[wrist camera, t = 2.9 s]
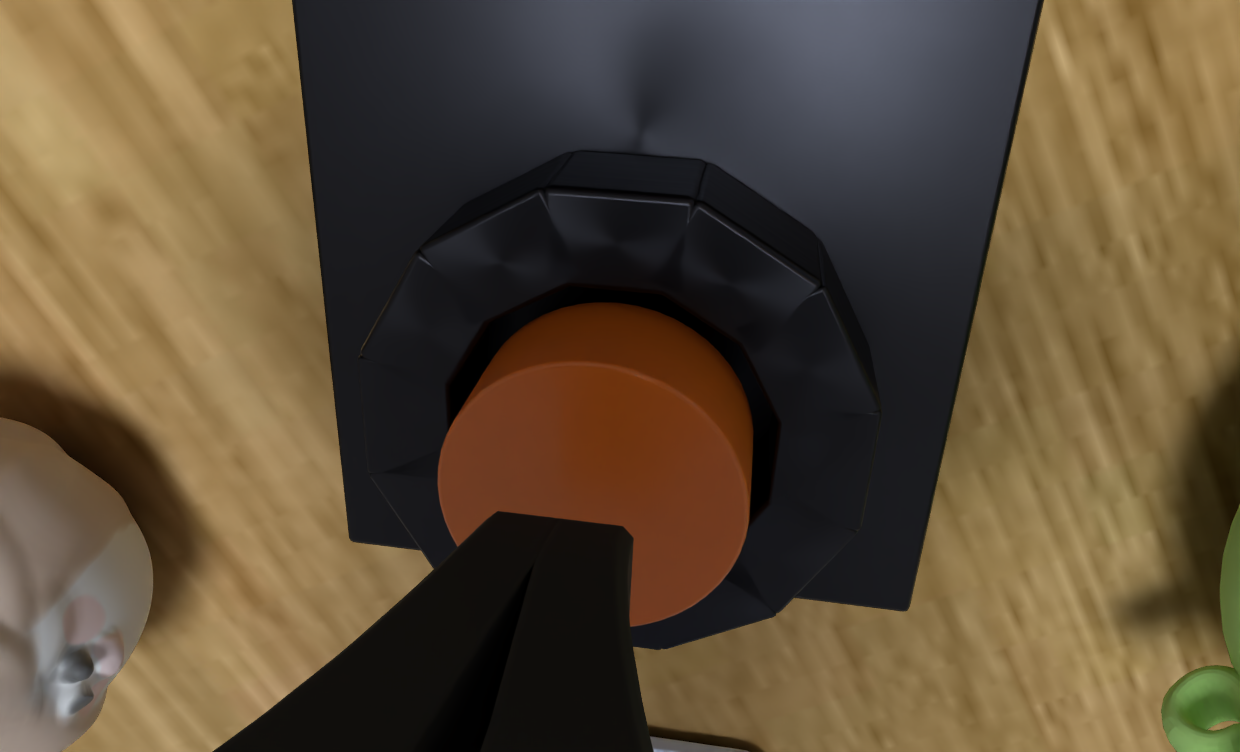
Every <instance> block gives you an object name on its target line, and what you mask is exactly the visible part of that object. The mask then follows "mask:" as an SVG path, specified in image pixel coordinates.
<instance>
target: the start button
mask: <svg viewBox="0 0 1240 752" xmlns="http://www.w3.org/2000/svg"><path fill="white" fill-rule="evenodd" d="M753 435H754V430H753V421H752V414H751V410H750V406H749V402H748V398H747V396H746V394H745V391H744V389H743V387H742V384H741V382H740V380H739V379H738V377H737V375H736V374H735V372H734V370H733V369H732V367H731V366H730V365H729V363H728V362H727V361H726V360H725V358H724V357H723V356H722V355H721V353H720V352H719V351H718V350H717V349H716V348H715V347H714V346H713V345H711V344H710V343H709V342H708V341H707V340H706V339H705V338H704V337H702V336H701V335H700V334H698V333H697V332H696V331H694V330H693V329H691V328H690V327H688V326H686V325H685V324H683V323H681V322H679V321H678V320H676V319H674V318H672V317H669V316H667V315H665V314H662V313H660V312H657V311H655V310H651V309H647V308H644V307H640V306H636V305H630V304H623V303H613V302H594V303H583V304H577V305H572V306H568V307H563V308H560V309H557V310H554V311H552V312H549V313H546V314H544V315H542V316H540V317H538V318H536V319H534V320H532V321H531V322H529V323H527V324H526V325H525V326H523V327H522V328H521V329H519V330H518V331H516V332H515V333H514V334H513V335H512V336H511V337H510V338H509V339H508V340H507V341H506V342H505V343H504V344H503V345H502V346H501V348H500V349H499V350H498V352H497V353H496V354H495V356H494V357H493V358H492V360H491V362H490V363H489V365H488V366H487V368H486V370H485V371H484V373H483V374H482V376H481V378H480V379H479V381H478V382H477V384H476V386H475V387H474V389H473V390H472V392H471V394H470V395H469V397H468V398H467V400H466V402H465V403H464V405H463V406H462V408H461V410H460V411H459V413H458V414H457V416H456V418H455V419H454V421H453V423H452V425H451V427H450V429H449V431H448V432H447V434H446V437H445V440H444V443H443V446H442V449H441V453H440V458H439V464H438V492H439V500H440V505H441V509H442V512H443V516H444V520H445V522H446V525H447V527H448V529H449V532H450V534H451V536H452V538H453V540H454V541H455V543H456V545H457V546H459V545H460V544H461V543H462V542H463V541H464V540H465V539H466V538H467V537H469V536H470V535H471V534H472V533H473V532H474V531H475V530H476V529H477V528H478V527H479V526H480V525H481V524H482V523H483V522H484V521H485V520H486V519H488V518H489V517H490V516H492V515H493V514H494V513H496V512H497V511H503V512H511V513H519V514H528V515H536V516H544V517H552V518H561V519H569V520H577V521H586V522H594V523H602V524H611V525H619V526H623V527H624V528H625V529H626V530H627V531H628V532H629V533H630V534H631V535H632V537H633V538H634V542H633V560H632V578H631V596H630V614H629V617H630V627H632V626H640V625H645V624H649V623H653V622H657V621H661V620H663V619H666V618H669V617H671V616H674V615H677V614H678V613H680V612H682V611H684V610H686V609H688V608H690V607H692V606H693V605H695V604H696V603H698V602H699V601H700V600H702V599H703V598H705V597H706V596H707V595H708V594H709V593H710V592H711V591H713V590H714V589H715V588H716V587H717V586H718V585H719V584H720V583H721V582H722V580H723V579H724V578H725V577H726V575H727V574H728V573H729V571H730V570H731V569H732V567H733V565H734V564H735V562H736V560H737V558H738V556H739V555H740V552H741V550H742V547H743V544H744V542H745V539H746V535H747V530H748V525H749V515H750V496H751V477H752V457H753Z"/></svg>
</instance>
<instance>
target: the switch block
mask: <svg viewBox="0 0 1240 752" xmlns="http://www.w3.org/2000/svg"><path fill="white" fill-rule="evenodd" d="M1043 3H1044V0H292V4H293V13H294V23H295V32H296V42H297V51H298V60H299V70H300V79H301V89H302V98H303V107H304V117H305V126H306V136H307V145H308V155H309V164H310V173H311V183H312V192H313V202H314V211H315V220H316V230H317V239H318V249H319V258H320V268H321V277H322V286H323V296H324V305H325V315H326V324H327V333H328V343H329V352H330V362H331V371H332V381H333V390H334V399H335V409H336V418H337V428H338V437H339V446H340V456H341V465H342V475H343V484H344V494H345V503H346V512H347V522H348V531H349V539H350V540H351V541H353V542H358V543H366V544H374V545H381V546H389V547H397V548H405V549H413V550H421V551H422V553H423V554H424V555H425V557H426V558H427V560H428V561H429V563H430V564H431V566H432V567H433V568H434V569H435V568H436V567H437V566H438V565H439V564H440V563H441V562H442V561H444V560H445V559H446V558H447V557H448V556H449V555H450V554H451V553H452V552H453V551H454V550H455V549H456V548H457V547H458V546H457V545H456V543H455V541H454V540H453V538H452V536H451V534H450V532H449V529H448V527H447V525H446V522H445V520H444V516H443V512H442V509H441V505H440V500H439V492H438V464H439V458H440V453H441V449H442V446H443V443H444V440H445V437H446V434H447V432H448V431H449V429H450V427H451V425H452V423H453V421H454V419H455V418H456V416H457V414H458V413H459V411H460V410H461V408H462V406H463V405H464V403H465V402H466V400H467V398H468V397H469V395H470V394H471V392H472V390H473V389H474V387H475V386H476V384H477V382H478V381H479V379H480V378H481V376H482V374H483V373H484V371H485V370H486V368H487V366H488V365H489V363H490V362H491V360H492V358H493V357H494V356H495V354H496V353H497V352H498V350H499V349H500V348H501V346H502V345H503V344H504V343H505V342H506V341H507V340H508V339H509V338H510V337H511V336H512V335H513V334H514V333H515V332H516V331H518V330H519V329H521V328H522V327H523V326H525V325H526V324H527V323H529V322H531V321H532V320H534V319H536V318H538V317H540V316H542V315H544V314H546V313H549V312H552V311H554V310H557V309H560V308H563V307H568V306H572V305H577V304H583V303H594V302H613V303H623V304H630V305H636V306H640V307H644V308H647V309H651V310H655V311H657V312H660V313H662V314H665V315H667V316H669V317H672V318H674V319H676V320H678V321H679V322H681V323H683V324H685V325H686V326H688V327H690V328H691V329H693V330H694V331H696V332H697V333H698V334H700V335H701V336H702V337H704V338H705V339H706V340H707V341H708V342H709V343H710V344H711V345H713V346H714V347H715V348H716V349H717V350H718V351H719V352H720V353H721V355H722V356H723V357H724V358H725V360H726V361H727V362H728V363H729V365H730V366H731V367H732V369H733V370H734V372H735V374H736V375H737V377H738V379H739V380H740V382H741V384H742V387H743V389H744V391H745V394H746V396H747V398H748V402H749V406H750V410H751V414H752V421H753V430H754V435H753V457H752V477H751V496H750V515H749V525H748V530H747V535H746V539H745V542H744V544H743V547H742V550H741V552H740V555H739V556H738V558H737V560H736V562H735V564H734V565H733V567H732V569H731V570H730V571H729V573H728V574H727V575H726V577H725V578H724V579H723V580H722V582H721V583H720V584H719V585H718V586H717V587H716V588H715V589H714V590H713V591H711V592H710V593H709V594H708V595H707V596H706V597H705V598H703V599H702V600H700V601H699V602H698V603H696V604H695V605H693V606H692V607H690V608H688V609H686V610H684V611H682V612H680V613H678V614H677V615H674V616H671V617H669V618H666V619H663V620H661V621H657V622H653V623H649V624H645V625H640V626H632V627H630V628H631V636H632V644H633V647H640V648H648V649H655V650H661V649H668V648H672V647H675V646H678V645H682V644H685V643H688V642H692V641H695V640H698V639H702V638H705V637H708V636H712V635H715V634H718V633H722V632H725V631H728V630H732V629H735V628H738V627H742V626H745V625H748V624H752V623H755V622H758V621H762V620H765V619H768V618H772V617H774V616H776V613H779V612H780V611H781V610H782V609H783V608H784V607H785V606H786V605H787V604H788V603H789V602H790V601H791V600H792V599H793V598H801V599H809V600H817V601H825V602H832V603H840V604H848V605H856V606H864V607H872V608H880V609H888V610H896V611H907V610H908V609H909V607H910V603H911V599H912V594H913V590H914V585H915V581H916V576H917V572H918V567H919V563H920V558H921V554H922V549H923V545H924V540H925V536H926V531H927V527H928V522H929V517H930V513H931V508H932V504H933V499H934V495H935V490H936V486H937V481H938V477H939V472H940V468H941V463H942V459H943V454H944V450H945V445H946V441H947V436H948V432H949V427H950V423H951V418H952V414H953V409H954V405H955V400H956V396H957V391H958V387H959V382H960V377H961V373H962V368H963V364H964V359H965V355H966V350H967V346H968V341H969V337H970V332H971V328H972V323H973V319H974V314H975V310H976V305H977V301H978V296H979V292H980V287H981V283H982V278H983V274H984V269H985V265H986V260H987V256H988V251H989V247H990V242H991V237H992V233H993V228H994V224H995V219H996V215H997V210H998V206H999V201H1000V197H1001V192H1002V188H1003V183H1004V179H1005V174H1006V170H1007V165H1008V161H1009V156H1010V152H1011V147H1012V143H1013V138H1014V134H1015V129H1016V125H1017V120H1018V116H1019V111H1020V107H1021V102H1022V97H1023V93H1024V88H1025V84H1026V79H1027V75H1028V70H1029V66H1030V61H1031V57H1032V52H1033V48H1034V43H1035V39H1036V34H1037V30H1038V25H1039V21H1040V16H1041V12H1042V7H1043Z"/></svg>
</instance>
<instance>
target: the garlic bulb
mask: <svg viewBox="0 0 1240 752" xmlns="http://www.w3.org/2000/svg"><path fill="white" fill-rule="evenodd" d="M152 594H153V568H152V561H151V557H150V553H149V549H148V546H147V543H146V541H145V538H144V536H143V534H142V532H141V530H140V528H139V526H138V525H137V523H136V522H135V520H134V518H133V517H132V515H131V513H130V511H129V509H128V507H127V505H126V503H125V502H124V500H123V498H122V497H121V496H120V494H119V493H118V492H117V491H116V490H115V489H114V488H112V487H111V486H110V485H109V484H108V483H106V482H105V481H104V480H102V479H101V478H100V477H98V476H97V475H96V474H94V473H93V472H91V471H90V470H89V469H87V468H86V467H84V466H83V465H81V464H80V463H78V462H77V461H75V460H74V459H72V458H71V457H69V456H68V455H67V454H66V453H65V451H64V450H63V449H62V448H61V447H60V446H59V445H58V444H57V443H56V442H55V441H54V440H53V439H52V438H50V437H49V436H48V435H46V434H45V433H43V432H42V431H40V430H38V429H36V428H34V427H32V426H30V425H27V424H24V423H21V422H18V421H14V420H10V419H6V418H1V417H0V752H61V751H63V750H64V749H66V748H67V747H68V746H70V745H71V744H72V743H74V742H75V741H76V740H77V739H78V738H80V737H81V736H82V735H83V734H84V733H85V732H86V731H87V730H88V729H89V728H90V727H91V726H92V724H93V723H94V722H95V720H96V719H97V717H98V715H99V714H100V711H101V709H102V707H103V704H104V701H105V697H106V693H107V687H108V685H109V684H110V683H111V681H112V680H113V679H114V678H115V677H116V675H117V674H118V673H119V671H120V670H121V669H122V667H123V666H124V664H125V663H126V662H127V660H128V658H129V657H130V655H131V654H132V652H133V650H134V648H135V647H136V645H137V643H138V641H139V639H140V636H141V634H142V632H143V629H144V627H145V624H146V621H147V618H148V615H149V611H150V606H151V601H152Z"/></svg>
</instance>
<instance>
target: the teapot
mask: <svg viewBox="0 0 1240 752" xmlns="http://www.w3.org/2000/svg"><path fill="white" fill-rule="evenodd" d="M1220 606H1221V617H1222V629H1223V635H1224V638H1225V642H1226V645H1227V649H1228V652H1229V656H1230V659H1231V663H1232V665H1233V667H1234V668H1231V667H1227V666H1219V665H1214V666H1205V667H1202V668H1198V669H1196V670H1194V671H1191V672H1189V673H1187V674H1186V675H1185V676H1183V677H1182V678H1181V679H1179V680H1178V681H1177V682H1176V683H1175V684H1174V685H1173V686H1172V687H1171V688H1170V689H1169V690H1168V692H1167V693H1166V695H1165V697H1164V699H1163V704H1162V709H1161V713H1162V722H1163V728H1164V730H1165V733H1166V735H1167V738H1168V740H1169V742H1170V744H1171V745H1172V746H1173V747H1174V749H1175V750H1176V751H1177V752H1240V724H1233V725H1231V726H1229V727H1226V728H1224V729H1220V730H1216V731H1211V730H1208V729H1209V728H1211V727H1212V726H1214V725H1216V724H1218V723H1220V722H1224V721H1237V722H1240V505H1239V508H1238V510H1237V512H1236V514H1235V517H1234V519H1233V521H1232V524H1231V527H1230V531H1229V535H1228V538H1227V542H1226V546H1225V549H1224V553H1223V559H1222V569H1221V580H1220Z"/></svg>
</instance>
